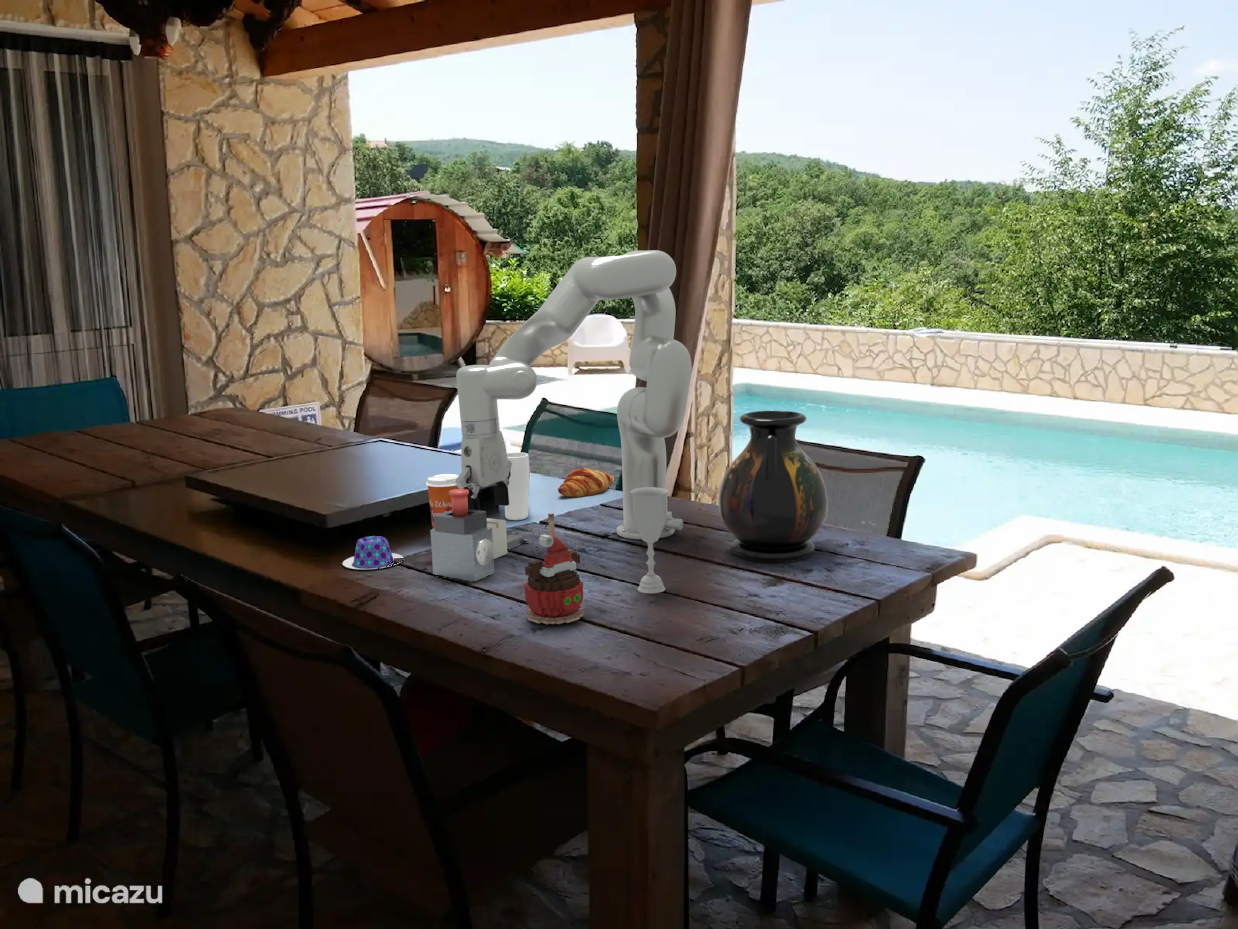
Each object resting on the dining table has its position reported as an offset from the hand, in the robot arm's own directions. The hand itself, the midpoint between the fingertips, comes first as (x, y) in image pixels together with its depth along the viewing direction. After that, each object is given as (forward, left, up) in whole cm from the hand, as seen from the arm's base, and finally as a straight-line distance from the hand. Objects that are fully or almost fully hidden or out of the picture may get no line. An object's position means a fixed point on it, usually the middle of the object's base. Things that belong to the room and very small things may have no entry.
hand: (488, 510), depth 218 cm
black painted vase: (-51, -25, -10) cm, 58 cm away
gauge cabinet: (-3, +13, -9) cm, 17 cm away
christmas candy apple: (-33, +27, -10) cm, 44 cm away
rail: (+1, -3, -9) cm, 10 cm away
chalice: (-40, +6, -10) cm, 42 cm away
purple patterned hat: (+19, +14, -10) cm, 25 cm away
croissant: (+13, -60, -10) cm, 62 cm away
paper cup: (+16, -6, -10) cm, 19 cm away
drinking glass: (+14, -29, -10) cm, 33 cm away
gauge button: (-3, +13, +2) cm, 14 cm away
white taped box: (+1, +1, -9) cm, 9 cm away
